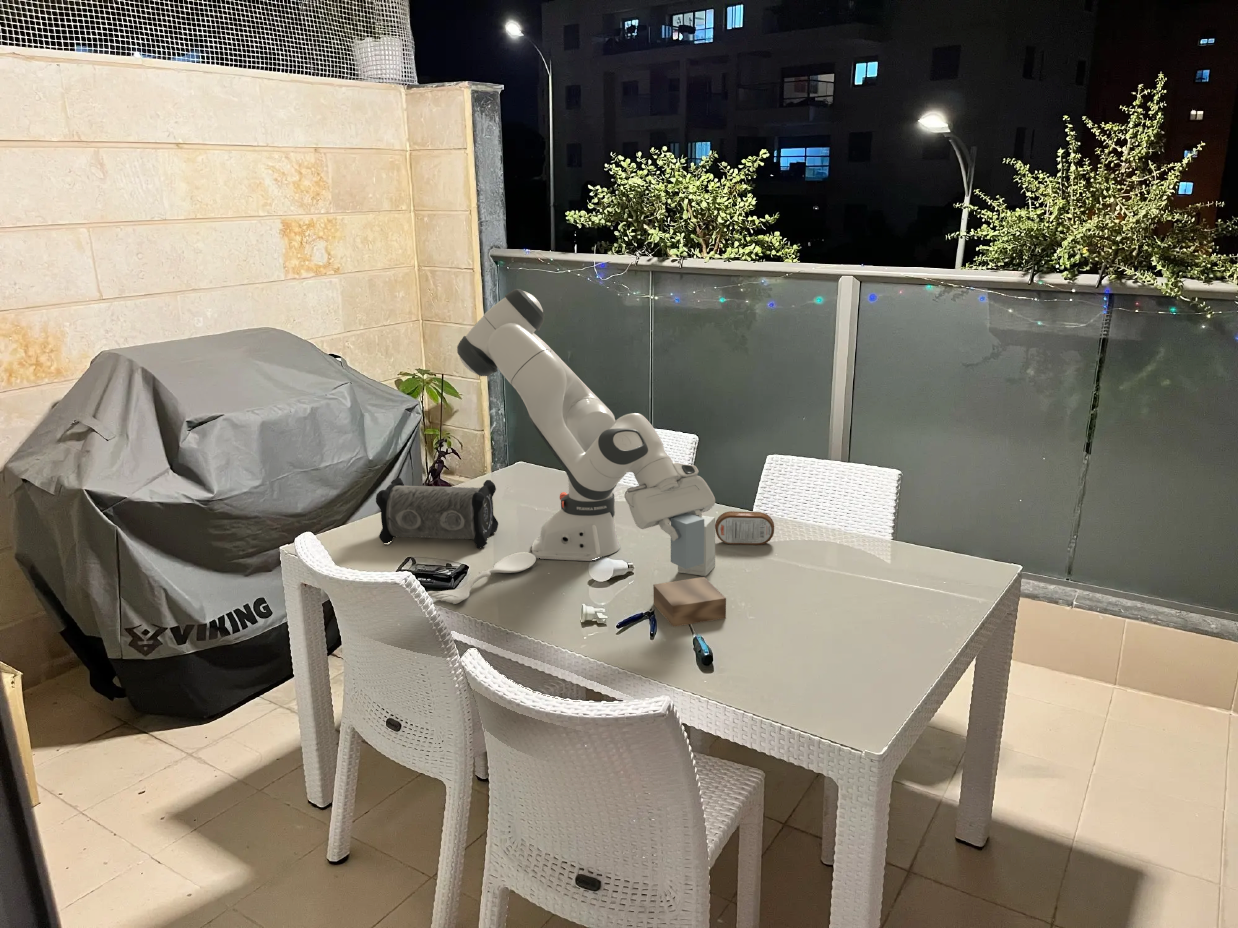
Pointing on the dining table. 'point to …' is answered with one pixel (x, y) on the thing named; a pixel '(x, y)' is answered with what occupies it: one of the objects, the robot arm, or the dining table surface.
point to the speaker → (437, 512)
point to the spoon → (505, 565)
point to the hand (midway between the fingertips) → (689, 535)
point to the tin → (744, 528)
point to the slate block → (688, 541)
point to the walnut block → (689, 601)
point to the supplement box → (705, 550)
